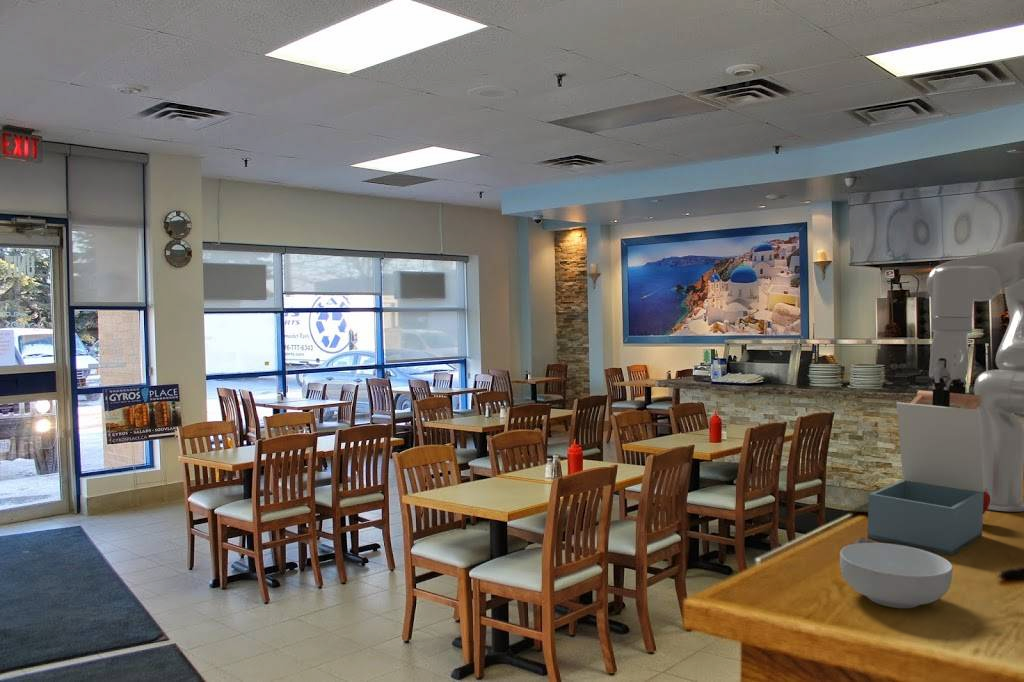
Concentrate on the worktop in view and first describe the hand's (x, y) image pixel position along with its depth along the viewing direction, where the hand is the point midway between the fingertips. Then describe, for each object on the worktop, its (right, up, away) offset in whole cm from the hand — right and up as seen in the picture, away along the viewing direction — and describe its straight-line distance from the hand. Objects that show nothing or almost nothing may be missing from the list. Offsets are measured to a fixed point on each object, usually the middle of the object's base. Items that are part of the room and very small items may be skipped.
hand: (948, 406), depth 181 cm
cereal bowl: (-30, -29, -41) cm, 58 cm away
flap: (-4, -8, -3) cm, 9 cm away
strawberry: (+7, -26, +3) cm, 27 cm away
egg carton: (-27, -28, -23) cm, 45 cm away
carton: (-8, -26, -6) cm, 28 cm away
